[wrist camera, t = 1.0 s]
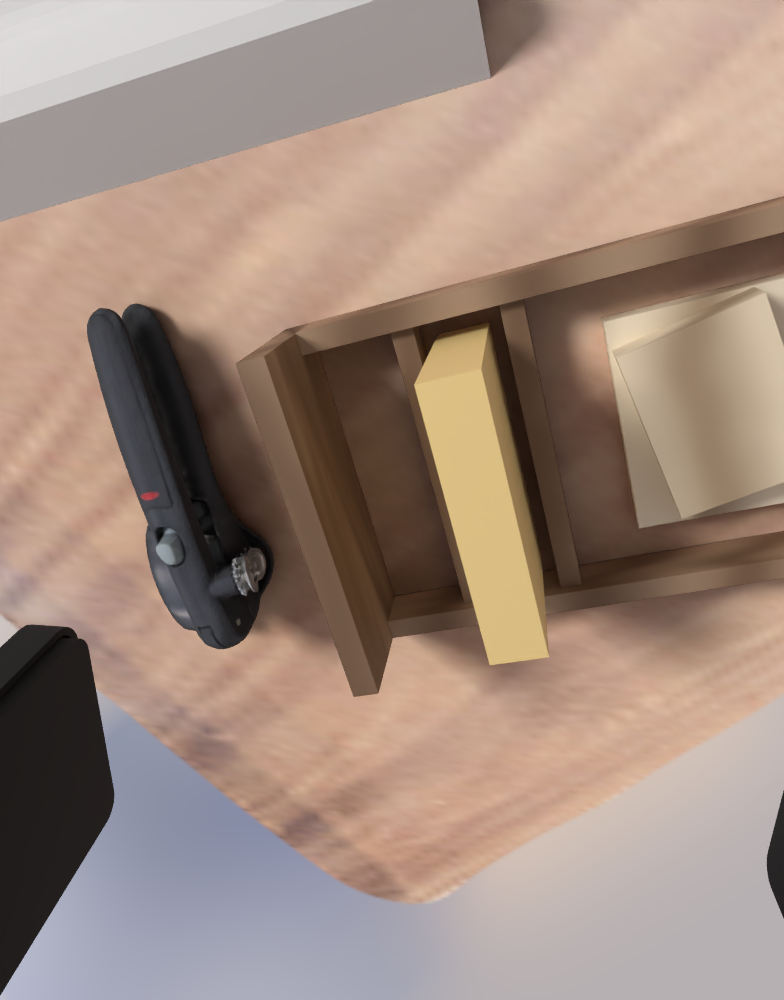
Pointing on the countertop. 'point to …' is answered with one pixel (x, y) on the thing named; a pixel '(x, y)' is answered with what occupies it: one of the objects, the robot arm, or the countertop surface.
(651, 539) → the countertop surface
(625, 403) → the offcut lower
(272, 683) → the countertop surface
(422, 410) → the panel
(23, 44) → the crown molding
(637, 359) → the offcut upper
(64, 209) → the countertop surface
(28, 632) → the robot arm
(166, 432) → the can opener
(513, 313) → the rack
